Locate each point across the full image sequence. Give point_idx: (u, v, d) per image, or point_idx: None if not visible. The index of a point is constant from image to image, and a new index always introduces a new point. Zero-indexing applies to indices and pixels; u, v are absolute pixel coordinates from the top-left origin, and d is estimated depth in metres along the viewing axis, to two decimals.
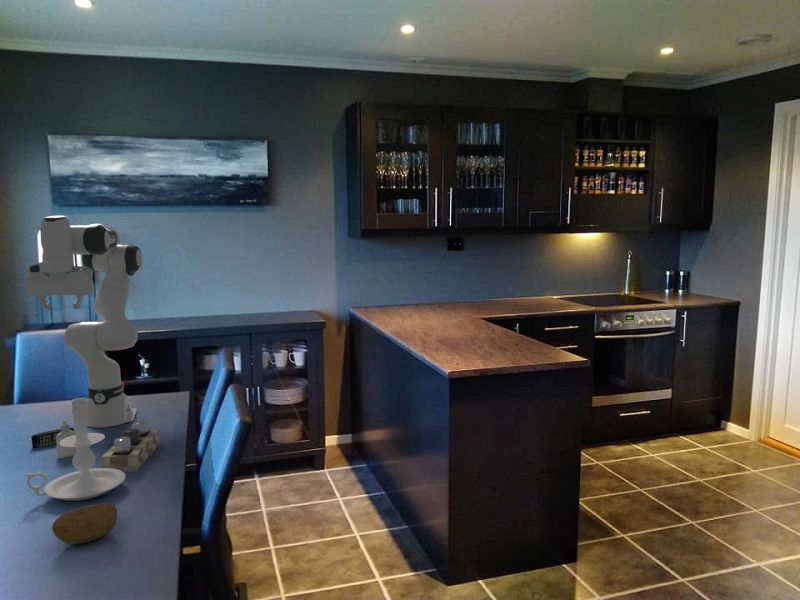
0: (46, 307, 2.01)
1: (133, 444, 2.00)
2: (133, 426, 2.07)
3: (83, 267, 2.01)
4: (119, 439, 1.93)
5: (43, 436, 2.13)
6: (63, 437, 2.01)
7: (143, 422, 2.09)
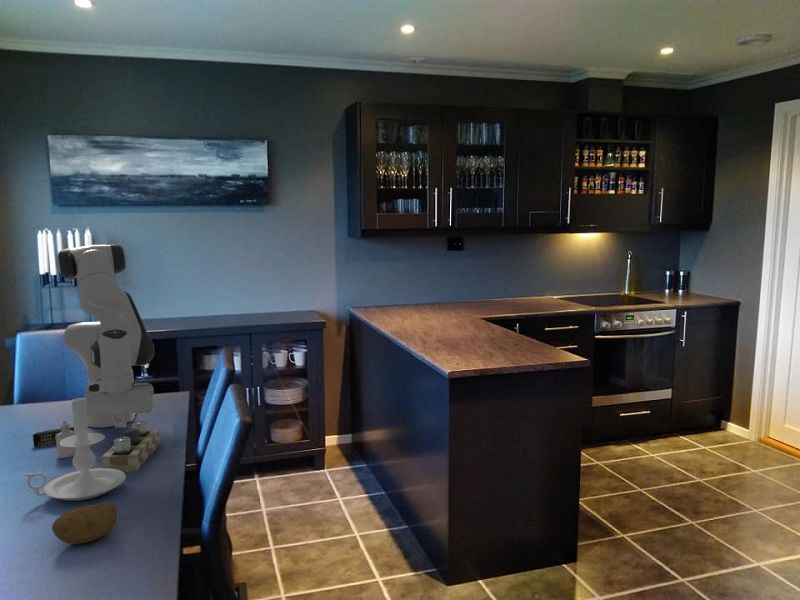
0: (118, 425, 1.92)
1: (133, 444, 2.00)
2: (133, 426, 2.07)
3: (144, 384, 1.91)
4: (119, 439, 1.93)
5: (44, 435, 2.14)
6: (63, 437, 2.01)
7: (143, 422, 2.09)
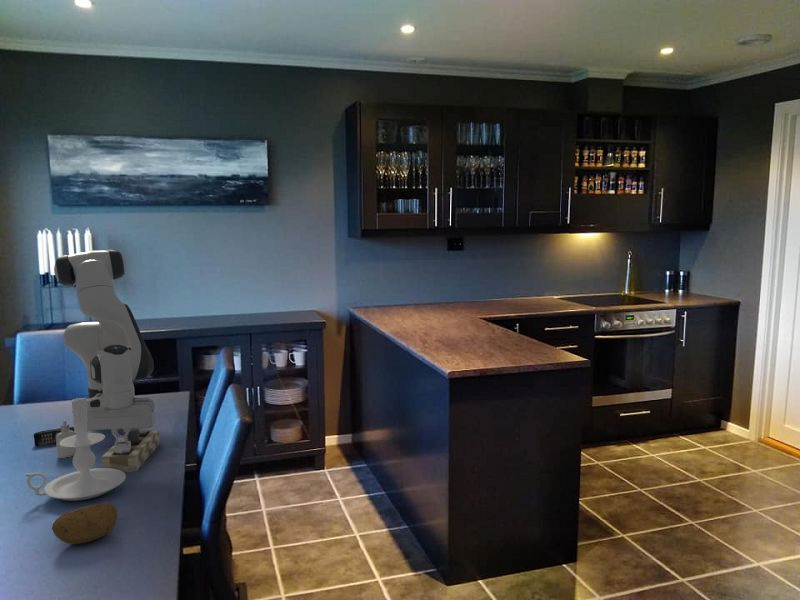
0: (119, 440, 1.92)
1: (133, 444, 2.00)
2: None
3: (145, 399, 1.92)
4: None
5: (45, 434, 2.14)
6: (63, 437, 2.01)
7: None
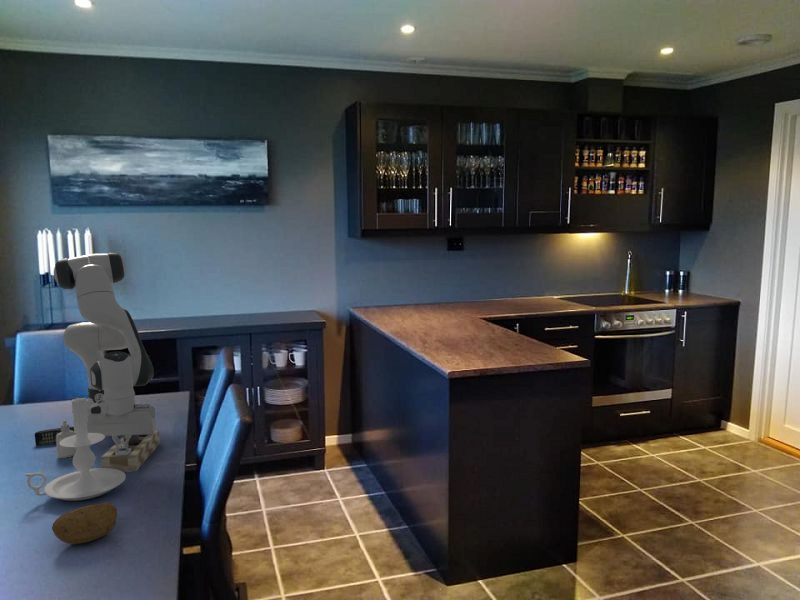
0: (120, 447, 1.93)
1: (133, 444, 2.00)
2: None
3: (145, 406, 1.92)
4: (120, 449, 1.93)
5: (46, 434, 2.15)
6: (63, 437, 2.01)
7: None
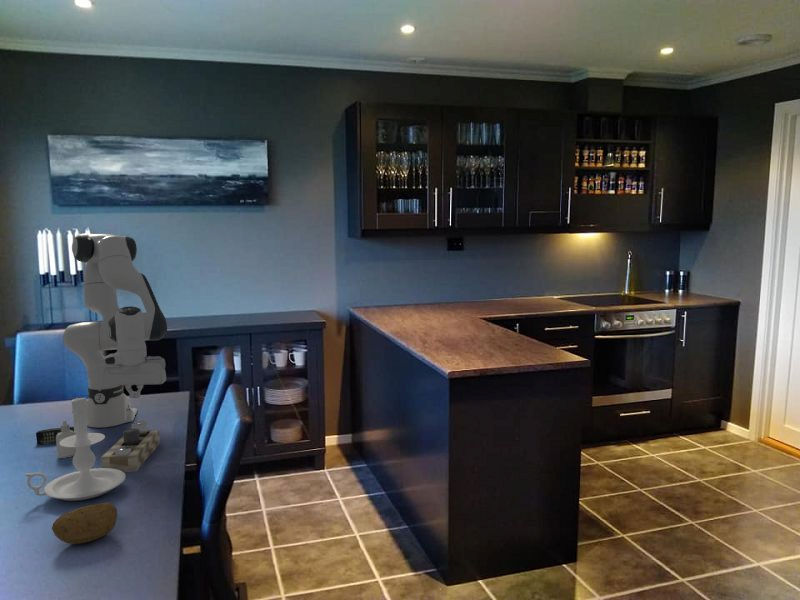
0: (132, 396, 2.06)
1: (133, 444, 2.00)
2: (133, 426, 2.07)
3: (156, 357, 2.05)
4: (120, 449, 1.93)
5: (47, 433, 2.16)
6: (63, 437, 2.01)
7: (143, 422, 2.09)
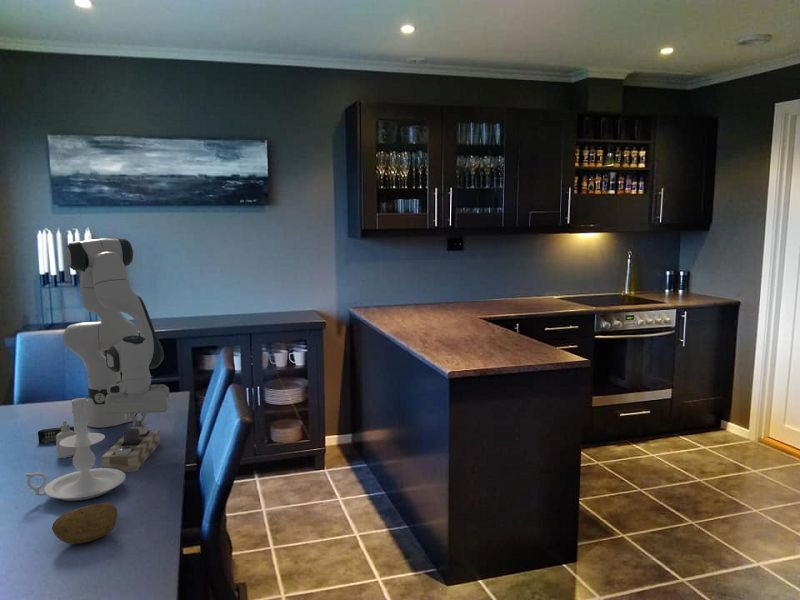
0: (136, 424, 2.08)
1: (133, 444, 2.00)
2: (133, 428, 2.07)
3: (160, 385, 2.08)
4: (120, 449, 1.93)
5: (48, 432, 2.16)
6: (63, 437, 2.01)
7: None
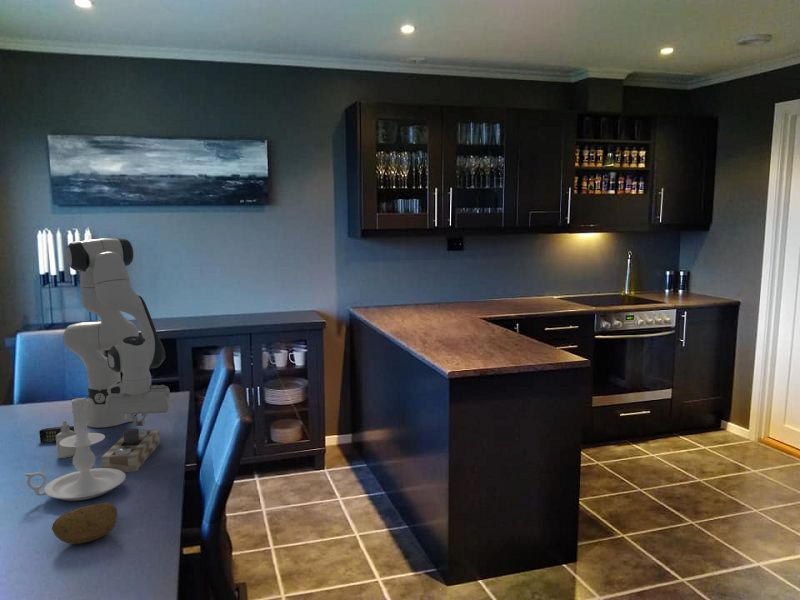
0: (137, 424, 2.09)
1: (133, 444, 2.00)
2: None
3: (161, 386, 2.08)
4: (120, 449, 1.93)
5: (49, 432, 2.17)
6: (63, 437, 2.01)
7: (144, 431, 2.10)
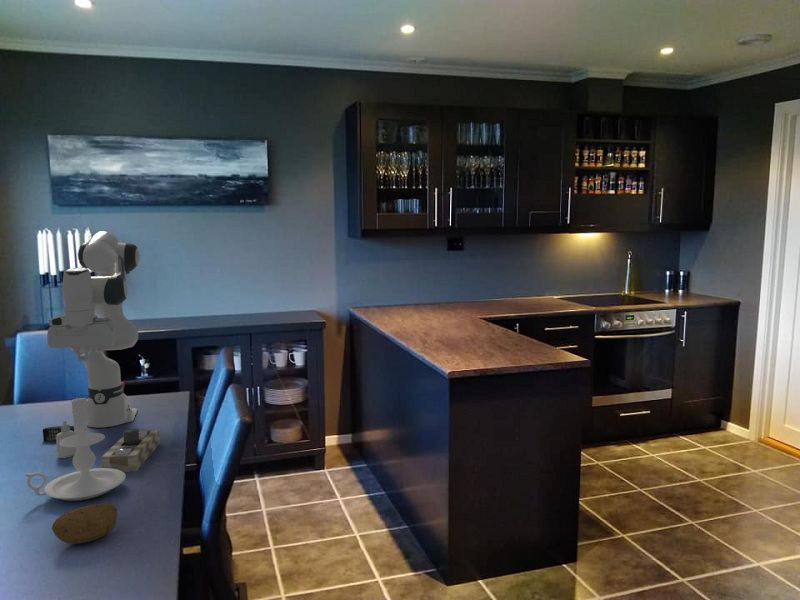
0: (80, 358, 2.03)
1: (133, 444, 2.00)
2: None
3: (104, 319, 2.02)
4: (120, 449, 1.93)
5: (52, 431, 2.18)
6: (63, 437, 2.01)
7: (144, 431, 2.10)
